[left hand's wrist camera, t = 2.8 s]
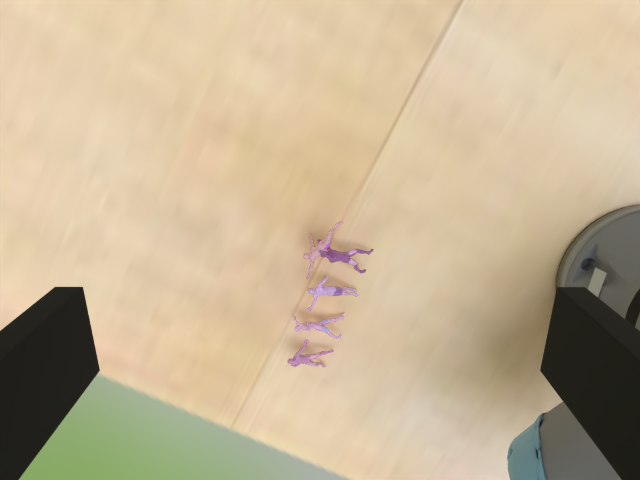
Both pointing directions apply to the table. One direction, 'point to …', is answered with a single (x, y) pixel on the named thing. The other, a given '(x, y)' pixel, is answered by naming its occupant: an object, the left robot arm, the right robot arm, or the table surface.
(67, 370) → the left robot arm
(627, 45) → the table surface
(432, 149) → the table surface
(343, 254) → the people figure
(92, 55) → the table surface
